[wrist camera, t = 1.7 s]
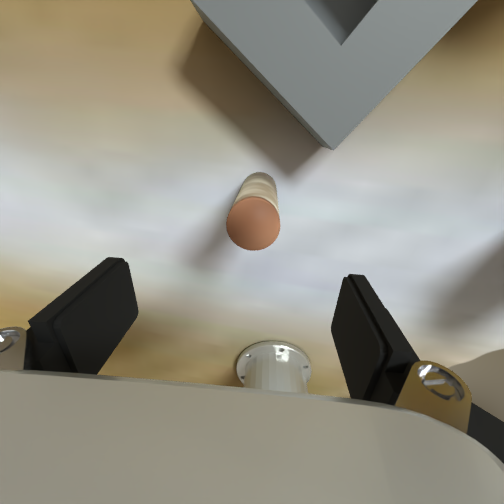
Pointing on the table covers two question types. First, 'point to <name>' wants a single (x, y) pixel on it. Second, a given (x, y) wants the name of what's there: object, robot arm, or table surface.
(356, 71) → the socket block
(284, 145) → the table surface
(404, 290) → the table surface
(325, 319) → the table surface
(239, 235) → the birch peg
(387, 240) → the table surface
